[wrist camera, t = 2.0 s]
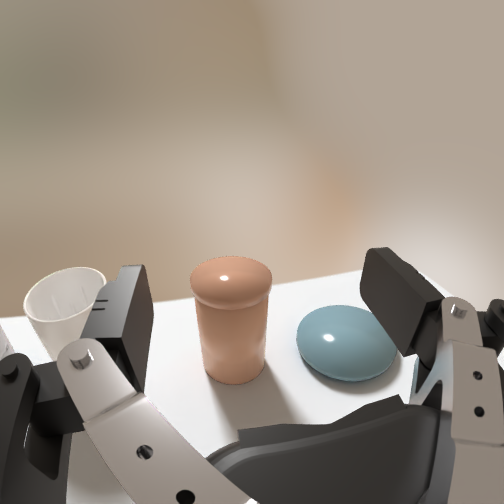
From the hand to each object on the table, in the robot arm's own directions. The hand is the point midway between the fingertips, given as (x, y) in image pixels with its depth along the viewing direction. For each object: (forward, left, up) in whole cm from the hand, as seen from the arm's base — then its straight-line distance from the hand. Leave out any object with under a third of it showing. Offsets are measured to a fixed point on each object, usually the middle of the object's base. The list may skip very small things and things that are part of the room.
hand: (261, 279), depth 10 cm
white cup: (-14, +10, -17) cm, 25 cm away
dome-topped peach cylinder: (0, +11, -17) cm, 20 cm away
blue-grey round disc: (+12, +11, -17) cm, 24 cm away
